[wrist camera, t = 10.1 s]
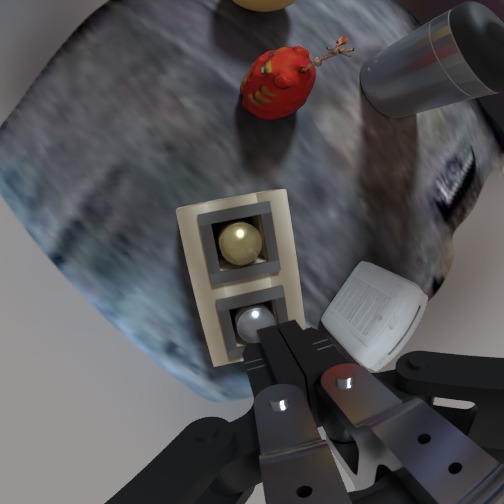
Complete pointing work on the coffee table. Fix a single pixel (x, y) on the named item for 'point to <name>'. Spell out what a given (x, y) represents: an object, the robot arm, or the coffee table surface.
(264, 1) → the stress ball
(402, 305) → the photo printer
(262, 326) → the peg steel
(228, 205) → the birch block
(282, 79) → the red clay folk toy
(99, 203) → the coffee table surface
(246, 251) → the peg brass
